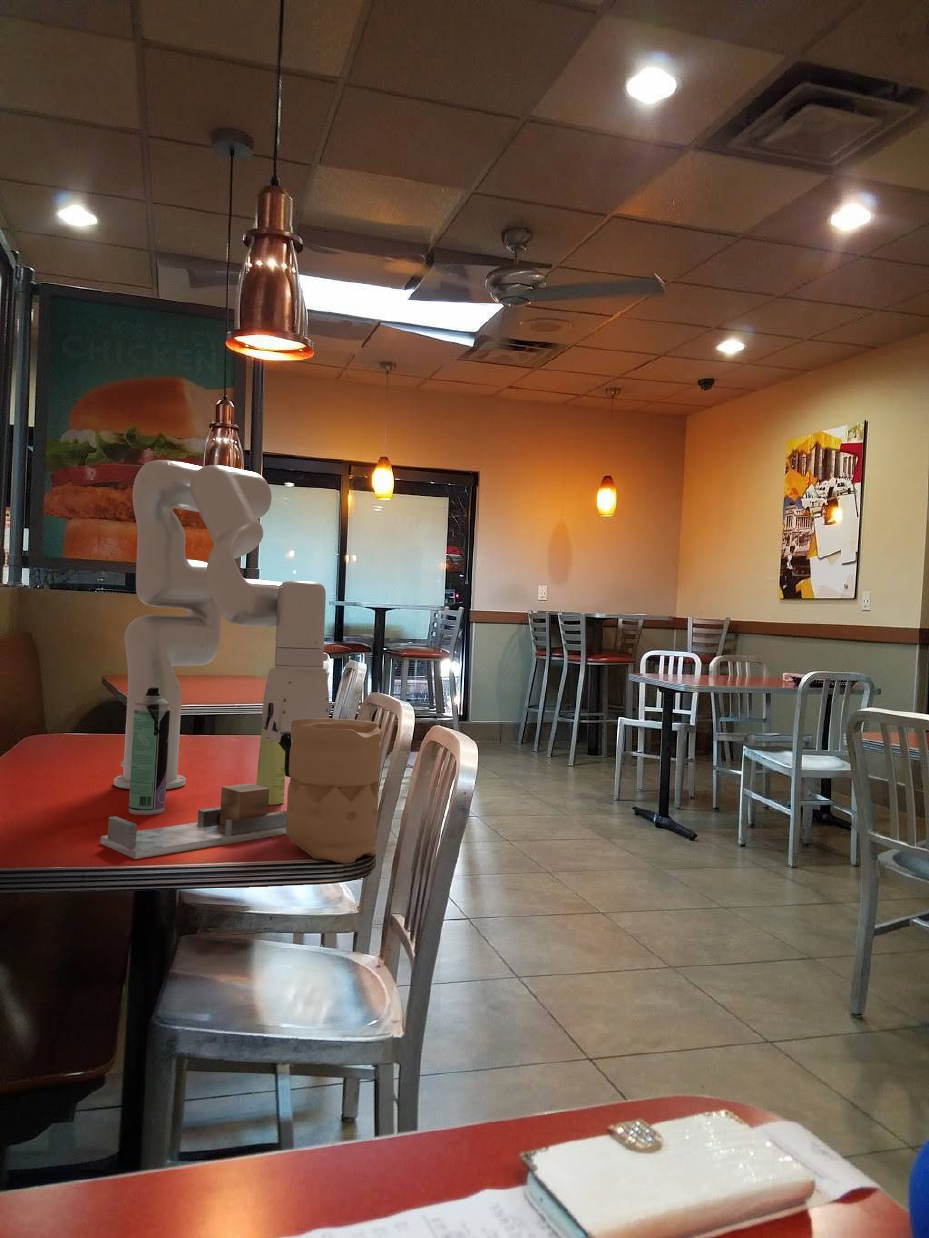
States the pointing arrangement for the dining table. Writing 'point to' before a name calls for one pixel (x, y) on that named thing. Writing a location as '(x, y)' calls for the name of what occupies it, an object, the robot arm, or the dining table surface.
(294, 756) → the container
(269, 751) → the tube
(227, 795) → the block
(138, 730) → the spray can
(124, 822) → the chute
